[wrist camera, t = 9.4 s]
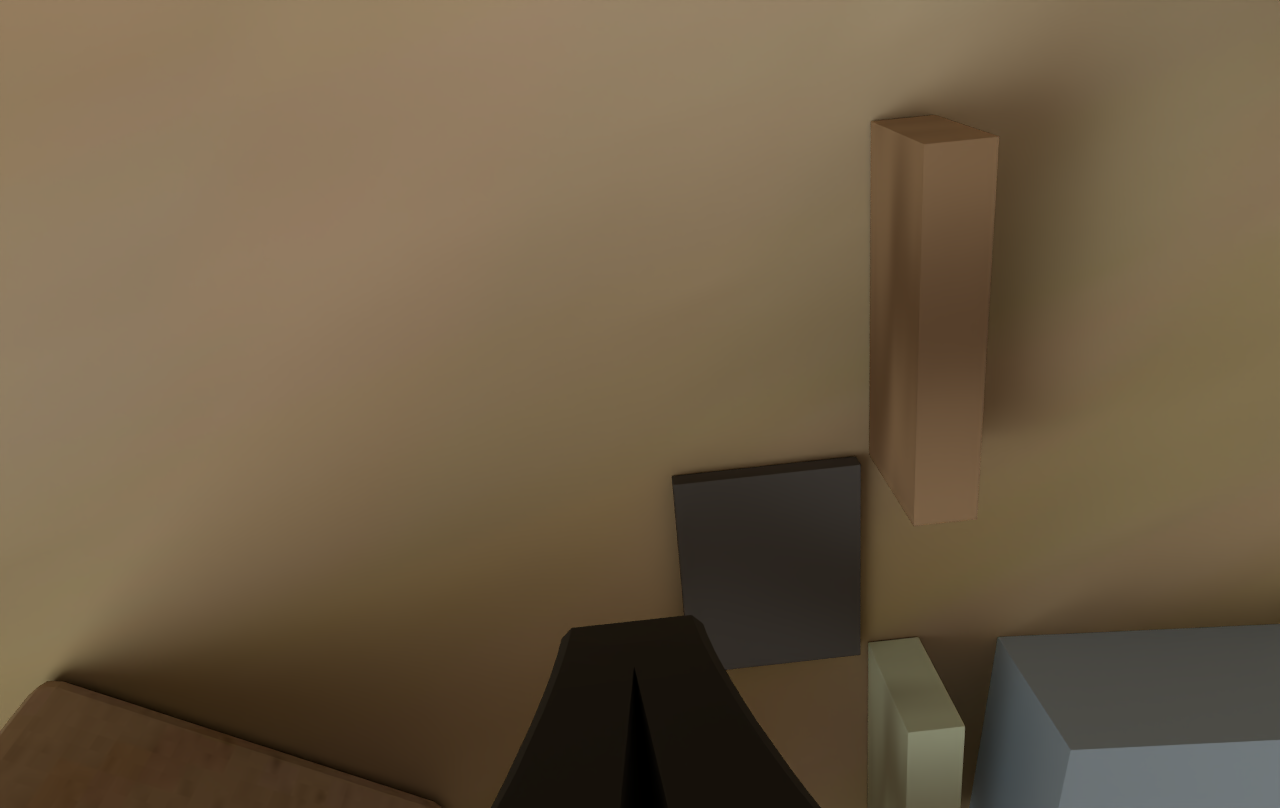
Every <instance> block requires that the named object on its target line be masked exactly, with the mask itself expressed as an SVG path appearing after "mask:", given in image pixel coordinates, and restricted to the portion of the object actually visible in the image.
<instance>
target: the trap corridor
mask: <svg viewBox="0 0 1280 808" xmlns="http://www.w3.org/2000/svg"><path fill="white" fill-rule="evenodd" d="M998 149H999V136H996V135H993V134H990V133H987V132H984V131H981V130H978V129H975V128H972V127H969V126H966V125H963V124H960V123H957V122H954V121H952V120H949V119H946V118H943V117H940V116H937V115H927V116H918V117H908V118H898V119H889V120H879V121H871V222H870V415H869V455H870V457H871V458H872V460H873V462H874V463H875V465H876V466H877V468H878V470H879V471H880V473H881V474H882V476H883V478H884V479H885V481H886V482H887V484H888V486H889V487H890V489H891V490H892V492H893V494H894V495H895V497H896V498H897V500H898V502H899V503H900V505H901V506H902V508H903V510H904V511H905V513H906V514H907V516H908V518H909V519H910V521H911V522H912V524H913V526H919V525H928V524H937V523H946V522H955V521H965V520H974V519H977V512H978V495H979V477H980V460H981V443H982V425H983V408H984V391H985V374H986V356H987V339H988V322H989V304H990V287H991V270H992V252H993V235H994V218H995V200H996V183H997V166H998ZM672 484H673V495H674V506H675V518H676V529H677V540H678V551H679V563H680V574H681V585H682V597H683V608H684V616H686V615H693V616H694V617H695V618H697V619H698V620H699V621H700V622H702V623H703V624H704V627H705V630H706V633H707V635H708V637H709V639H710V641H711V644H712V646H713V648H714V650H715V652H716V654H717V656H718V658H719V660H720V661H721V663H722V665H723V667H724V669H725V670H728V669H737V668H746V667H755V666H764V665H773V664H782V663H791V662H800V661H809V660H818V659H827V658H836V657H845V656H854V655H860V495H861V465H860V463H859V461H858V460H857V458H856V456H855V457H846V458H836V459H827V460H818V461H809V462H799V463H790V464H781V465H772V466H763V467H753V468H744V469H735V470H726V471H716V472H707V473H698V474H689V475H679V476H672ZM964 737H965V725H964V723H963V721H962V719H961V717H960V716H959V714H958V712H957V710H956V708H955V706H954V704H953V702H952V700H951V698H950V696H949V695H948V693H947V691H946V689H945V687H944V685H943V683H942V681H941V679H940V677H939V675H938V674H937V672H936V670H935V668H934V666H933V664H932V662H931V660H930V658H929V656H928V655H927V653H926V651H925V649H924V647H923V645H922V643H921V641H920V639H919V637H914V638H905V639H896V640H887V641H878V642H869V643H868V800H867V808H960V806H961V789H962V772H963V754H964Z"/></svg>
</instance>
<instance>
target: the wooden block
mask: <svg viewBox="0 0 1280 808" xmlns="http://www.w3.org/2000/svg"><path fill="white" fill-rule="evenodd" d="M0 808H442V807H441V806H439V805H438V804H437V803H435V802H434V801H431V800H427V799H424V798H421V797H418V796H415V795H412V794H409V793H406V792H403V791H400V790H397V789H393V788H390V787H387V786H384V785H381V784H378V783H375V782H372V781H369V780H366V779H363V778H360V777H356V776H353V775H350V774H347V773H344V772H341V771H338V770H335V769H332V768H329V767H326V766H322V765H319V764H316V763H313V762H310V761H307V760H304V759H301V758H298V757H295V756H292V755H289V754H285V753H282V752H279V751H276V750H273V749H270V748H267V747H264V746H261V745H258V744H255V743H251V742H248V741H245V740H242V739H239V738H236V737H233V736H230V735H227V734H224V733H221V732H218V731H214V730H211V729H208V728H205V727H202V726H199V725H196V724H193V723H190V722H187V721H184V720H180V719H177V718H174V717H171V716H168V715H165V714H162V713H159V712H156V711H153V710H150V709H147V708H143V707H140V706H137V705H134V704H131V703H128V702H125V701H122V700H119V699H116V698H113V697H109V696H106V695H103V694H100V693H97V692H94V691H91V690H88V689H85V688H82V687H79V686H75V685H72V684H69V683H66V682H63V681H47V682H45V683H44V684H42V685H40V686H39V687H38V688H36V689H35V690H34V691H33V692H32V693H31V694H30V695H29V696H28V697H27V698H26V699H25V700H24V702H23V703H22V704H21V705H20V707H19V708H18V709H17V710H16V712H15V713H14V714H13V716H12V717H11V718H10V719H9V721H8V722H7V723H6V724H5V726H4V727H3V728H2V729H1V731H0Z"/></svg>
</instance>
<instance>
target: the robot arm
mask: <svg viewBox="0 0 1280 808" xmlns="http://www.w3.org/2000/svg"><path fill="white" fill-rule="evenodd" d="M491 808H821V807H820V806H819V805H818V804H817V802H816V801H815V800H814V799H813V797H812V796H811V795H810V794H809V792H808V791H807V790H806V788H805V787H804V786H803V784H802V783H801V782H800V781H799V779H798V778H797V777H796V775H795V774H794V773H793V771H792V770H791V769H790V767H789V766H788V764H787V763H786V762H785V760H784V759H783V757H782V756H781V755H780V753H779V752H778V750H777V749H776V748H775V746H774V745H773V743H772V742H771V740H770V739H769V738H768V736H767V735H766V733H765V732H764V731H763V729H762V728H761V726H760V725H759V723H758V722H757V721H756V719H755V717H754V716H753V714H752V713H751V711H750V710H749V708H748V707H747V705H746V704H745V702H744V701H743V699H742V697H741V696H740V694H739V692H738V691H737V689H736V687H735V686H734V684H733V682H732V681H731V679H730V677H729V676H728V674H727V672H726V670H725V669H724V667H723V665H722V663H721V661H720V660H719V658H718V656H717V654H716V652H715V650H714V648H713V646H712V644H711V641H710V639H709V637H708V635H707V633H706V630H705V627H704V624H703V623H702V622H700V621H699V620H698V619H697V618H695V617H694V616H693V615H686V616H677V617H668V618H659V619H650V620H641V621H632V622H623V623H614V624H604V625H595V626H586V627H577V628H571V629H570V630H569V632H568V633H567V634H566V635H565V636H564V637H563V638H562V640H561V644H560V648H559V651H558V655H557V658H556V661H555V664H554V667H553V670H552V673H551V676H550V679H549V681H548V684H547V687H546V689H545V692H544V694H543V697H542V699H541V702H540V704H539V707H538V709H537V711H536V714H535V716H534V719H533V721H532V723H531V726H530V728H529V730H528V732H527V734H526V737H525V739H524V741H523V743H522V745H521V747H520V749H519V752H518V754H517V756H516V758H515V760H514V762H513V764H512V766H511V769H510V771H509V773H508V775H507V777H506V779H505V781H504V783H503V785H502V787H501V789H500V791H499V793H498V795H497V797H496V799H495V801H494V803H493V805H492V807H491Z"/></svg>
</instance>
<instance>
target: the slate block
mask: <svg viewBox="0 0 1280 808" xmlns="http://www.w3.org/2000/svg"><path fill="white" fill-rule="evenodd" d="M969 808H1280V624H1269V625H1247V626H1225V627H1203V628H1182V629H1160V630H1138V631H1116V632H1095V633H1073V634H1051V635H1030V636H1008V637H998V639H997V645H996V651H995V657H994V663H993V669H992V675H991V681H990V687H989V693H988V699H987V705H986V711H985V717H984V723H983V729H982V735H981V741H980V747H979V753H978V759H977V765H976V771H975V777H974V783H973V789H972V795H971V801H970V807H969Z"/></svg>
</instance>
